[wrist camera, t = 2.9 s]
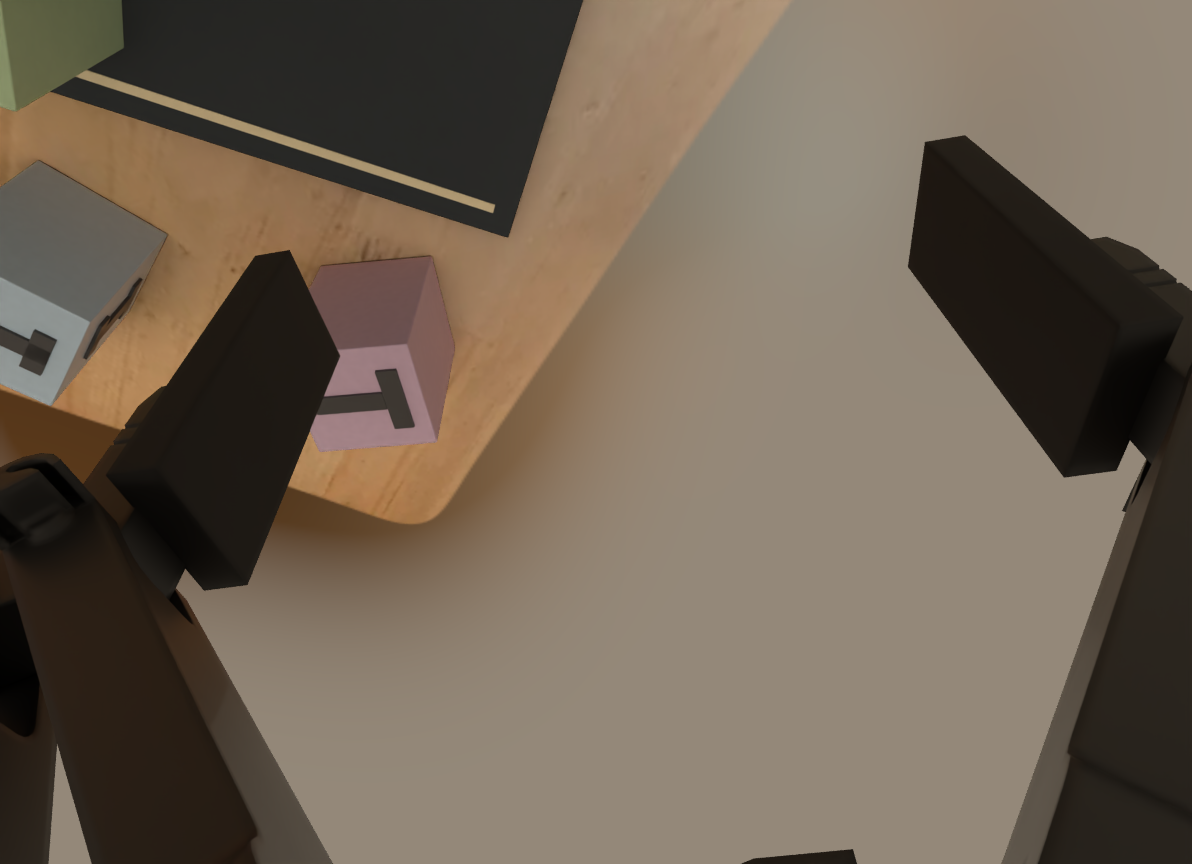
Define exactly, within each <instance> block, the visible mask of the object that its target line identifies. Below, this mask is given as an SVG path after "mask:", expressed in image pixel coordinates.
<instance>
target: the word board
mask: <svg viewBox="0 0 1192 864" xmlns="http://www.w3.org/2000/svg"><path fill="white" fill-rule="evenodd" d="M582 2H583V0H122V18H123V39H124V48H123V49H121V50H119V51H118V52H116V53H114V54H113V55H111V56H109V57H107V58H106V59H104V60H102V61H101V62H99V63H97V64H96V65H94V66H92V67H91V68H89V69H87V70H86V71H84V72H82V73H80V74H79V75H77V76H75V77H74V78H72V79H70V80H69V81H67V82H65V83H64V84H62V85H60V86H59V87H57V88H55V89H53V90H52V91H50V92H54V93H57V94H60V95H63V96H66V97H69V98H72V99H75V100H79V101H82V102H85V103H88V104H91V105H94V106H97V107H101V108H104V109H107V110H110V111H113V112H116V113H119V114H122V115H126V116H129V117H132V118H135V119H138V120H141V121H144V122H147V123H151V124H154V125H157V126H160V127H163V128H166V129H169V130H172V131H176V132H179V133H182V134H185V135H188V136H191V137H194V138H197V139H201V140H204V141H207V142H210V143H213V144H216V145H219V146H222V147H226V148H229V149H232V150H235V151H238V152H241V153H244V154H247V155H251V156H254V157H257V158H260V159H263V160H266V161H269V162H272V163H276V164H279V165H282V166H285V167H288V168H291V169H294V170H297V171H301V172H304V173H307V174H310V175H313V176H316V177H319V178H323V179H326V180H329V181H332V182H335V183H338V184H341V185H344V186H348V187H351V188H354V189H357V190H360V191H363V192H366V193H369V194H373V195H376V196H379V197H382V198H385V199H388V200H391V201H394V202H398V203H401V204H404V205H407V206H410V207H413V208H416V209H419V210H423V211H426V212H429V213H432V214H435V215H438V216H441V217H444V218H448V219H451V220H454V221H457V222H460V223H463V224H466V225H469V226H473V227H476V228H479V229H482V230H485V231H488V232H491V233H494V234H498V235H501V236H504V237H508V236H509V233H510V230H511V227H512V224H513V221H514V217H515V214H516V211H517V208H518V205H519V202H520V198H521V195H522V192H523V189H524V186H525V183H526V179H527V176H528V173H529V170H530V167H531V164H532V160H533V157H534V154H535V151H536V148H537V145H538V141H539V138H540V135H541V132H542V129H543V126H544V122H545V119H546V116H547V113H548V110H549V107H550V103H551V100H552V97H553V94H554V91H555V88H556V84H557V81H558V78H559V75H560V72H561V69H562V65H563V62H564V59H565V56H566V53H567V50H568V46H569V43H570V40H571V37H572V34H573V31H574V27H575V24H576V21H577V18H578V15H579V12H580V8H581V5H582Z"/></svg>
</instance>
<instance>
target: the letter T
mask: <svg viewBox="0 0 1192 864" xmlns="http://www.w3.org/2000/svg"><path fill="white" fill-rule="evenodd" d="M309 292H310V294H311V296H312V298H313V300H314V302H315V304H316V306H317V308H318V310H319V312H320V314H321V317H322V319H323V321H324V323H325V325H326V327H327V329H328V331H329V333H330V335H331V337H332V339H333V341H334V344H335V346H336V348H337V350H338V352H339V354H340V358H339V360H338V363H337V365H336V368H335V370H334V373H333V375H332V378H331V380H330V383H329V385H328V388H327V390H326V393H325V395H324V397H323V400H322V402H321V405H320V407H319V410H318V412H317V415H316V417H315V420H314V422H313V425H312V427H311V429H310V432H311V434H312V437H313V439H314V441H315V443H316V445H317V447H318V450H319V451H320V452H324V451H337V450H349V449H361V448H374V447H386V446H398V445H411V444H423V443H435V442H437V439H438V434H439V429H440V423H441V418H442V413H443V408H444V403H445V398H446V392H447V387H448V382H449V377H450V372H451V366H452V361H453V356H454V351H455V346H454V342H453V338H452V334H451V330H450V326H449V322H448V318H447V314H446V310H445V306H444V302H443V298H442V295H441V291H440V287H439V283H438V279H437V275H436V271H435V267H434V263H433V259H432V257H431V256H429V257H418V258H406V259H395V260H384V261H372V262H361V263H349V264H338V265H327V266H321V267H320V269H319V271H318V273H317V275H316V277H315V278H314V280H313V282H312V284H311V286H310V288H309Z"/></svg>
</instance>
